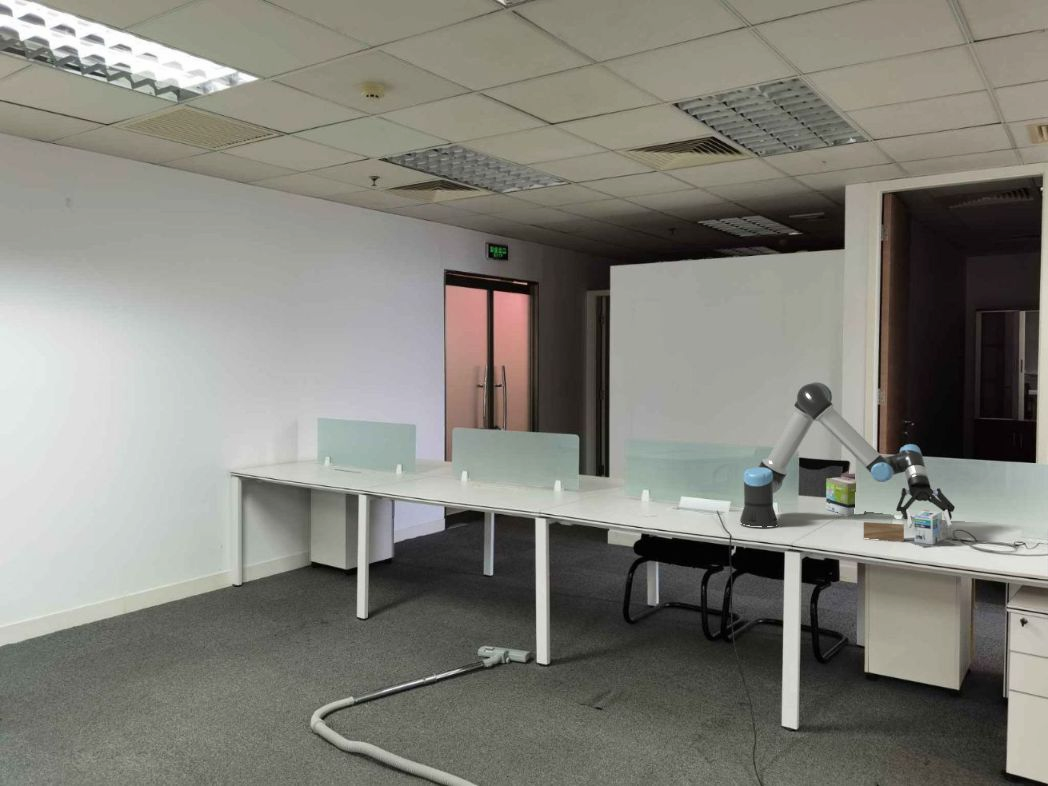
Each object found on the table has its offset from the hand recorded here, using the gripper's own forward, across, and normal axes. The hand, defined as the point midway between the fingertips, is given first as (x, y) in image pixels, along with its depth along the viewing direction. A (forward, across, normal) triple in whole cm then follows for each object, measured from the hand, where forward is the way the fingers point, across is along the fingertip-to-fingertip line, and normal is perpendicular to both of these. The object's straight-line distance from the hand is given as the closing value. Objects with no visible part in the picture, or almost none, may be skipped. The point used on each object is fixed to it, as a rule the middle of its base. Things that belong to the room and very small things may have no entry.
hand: (929, 526), depth 298 cm
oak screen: (+2, +15, -8) cm, 17 cm away
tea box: (-36, +18, -46) cm, 61 cm away
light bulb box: (+3, 0, -6) cm, 7 cm away
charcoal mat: (+3, 0, -6) cm, 7 cm away
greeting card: (-48, +14, -58) cm, 77 cm away
